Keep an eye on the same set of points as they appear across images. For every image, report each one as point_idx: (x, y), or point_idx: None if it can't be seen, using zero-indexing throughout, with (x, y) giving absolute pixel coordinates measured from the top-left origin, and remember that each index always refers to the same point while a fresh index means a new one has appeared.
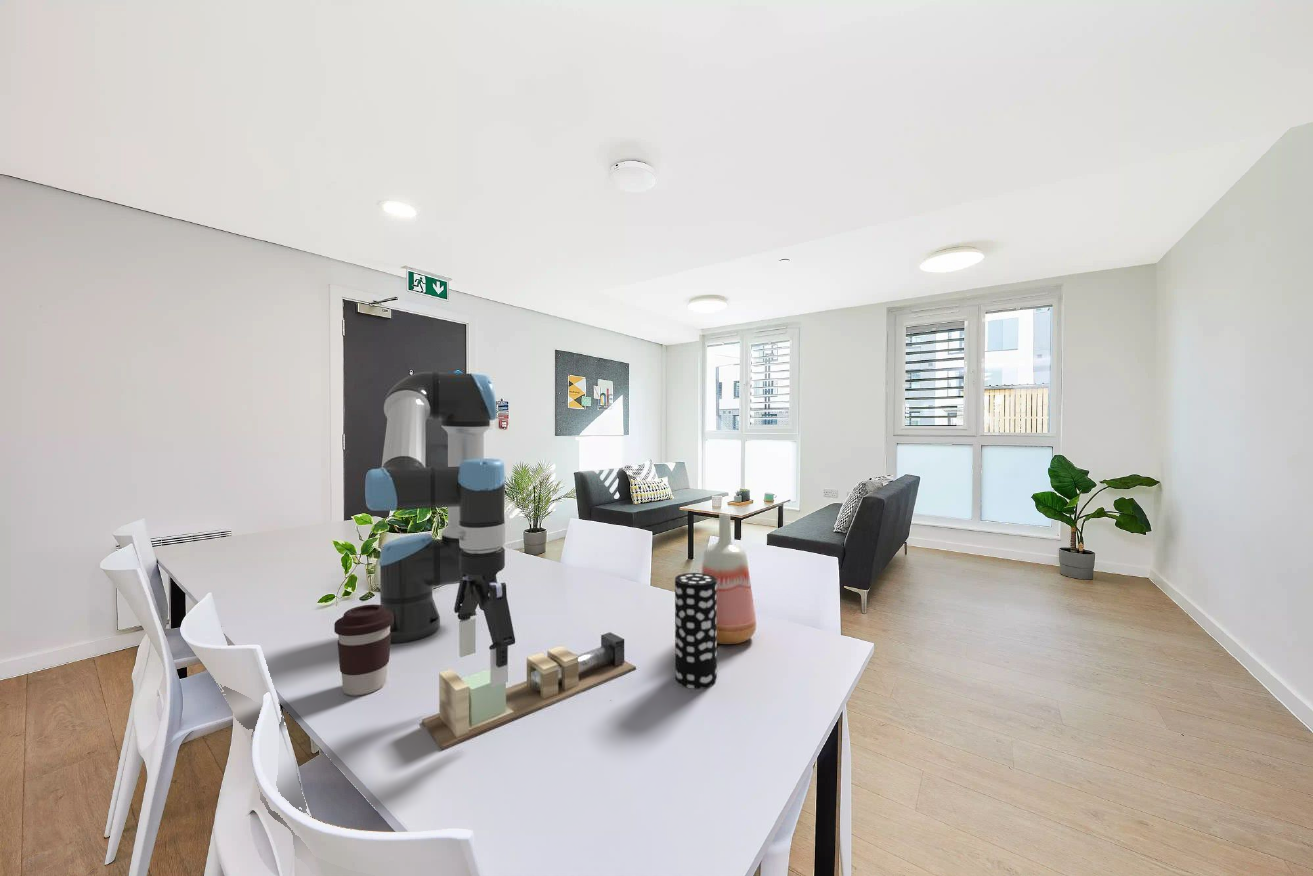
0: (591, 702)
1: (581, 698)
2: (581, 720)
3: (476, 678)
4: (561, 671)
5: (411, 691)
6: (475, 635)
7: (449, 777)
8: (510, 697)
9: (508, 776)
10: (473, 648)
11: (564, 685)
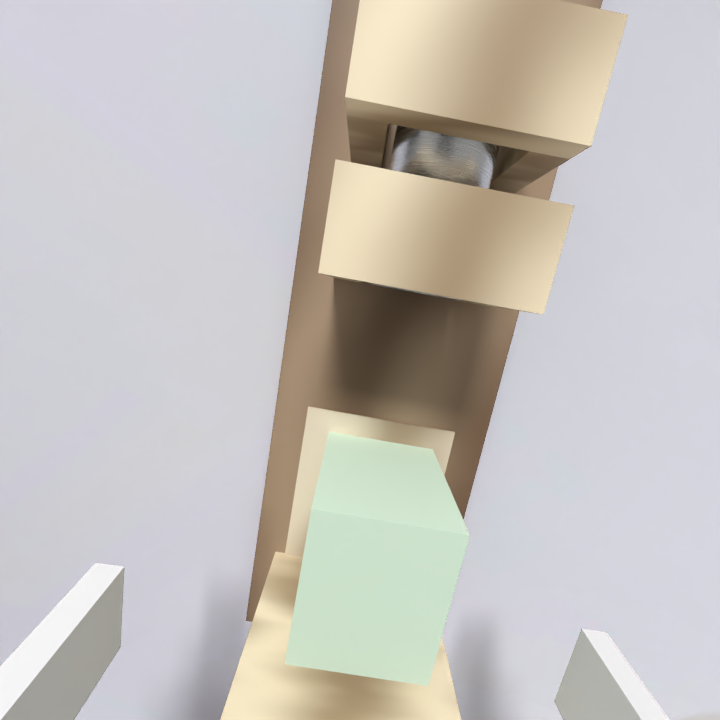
0: (650, 179)
1: (592, 183)
2: (692, 300)
3: (348, 621)
4: (494, 157)
5: (25, 550)
6: (9, 710)
7: (539, 676)
8: (358, 378)
9: (670, 599)
10: (100, 610)
11: (511, 190)
